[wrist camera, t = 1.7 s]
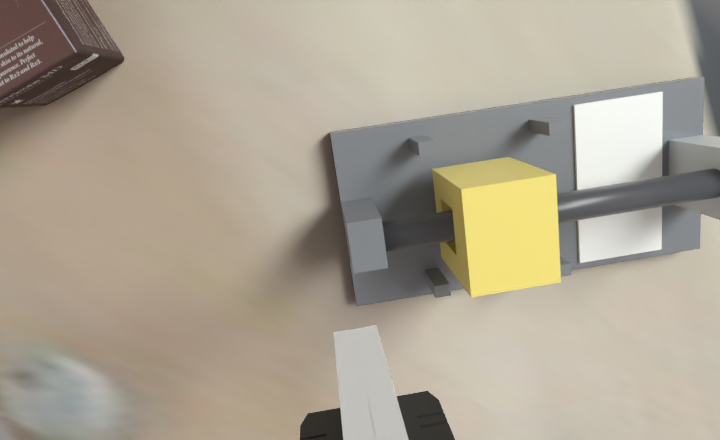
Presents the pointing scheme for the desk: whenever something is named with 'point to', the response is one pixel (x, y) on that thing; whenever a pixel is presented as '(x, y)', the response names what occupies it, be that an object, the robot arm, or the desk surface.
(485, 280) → the sleeve
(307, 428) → the robot arm
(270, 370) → the desk surface
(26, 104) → the box
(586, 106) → the gray rail plate
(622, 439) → the desk surface
